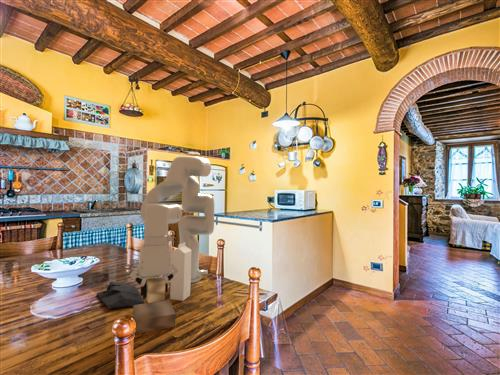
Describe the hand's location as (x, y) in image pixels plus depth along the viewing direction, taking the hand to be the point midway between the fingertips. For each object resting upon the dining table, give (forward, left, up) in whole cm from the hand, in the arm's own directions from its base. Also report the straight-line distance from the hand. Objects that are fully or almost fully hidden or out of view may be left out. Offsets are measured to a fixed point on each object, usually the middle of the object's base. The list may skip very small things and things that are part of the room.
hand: (154, 295), depth 85 cm
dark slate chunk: (+10, -25, -9) cm, 28 cm away
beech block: (0, +1, -1) cm, 1 cm away
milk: (-12, -17, -9) cm, 23 cm away
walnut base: (0, 0, -9) cm, 9 cm away
